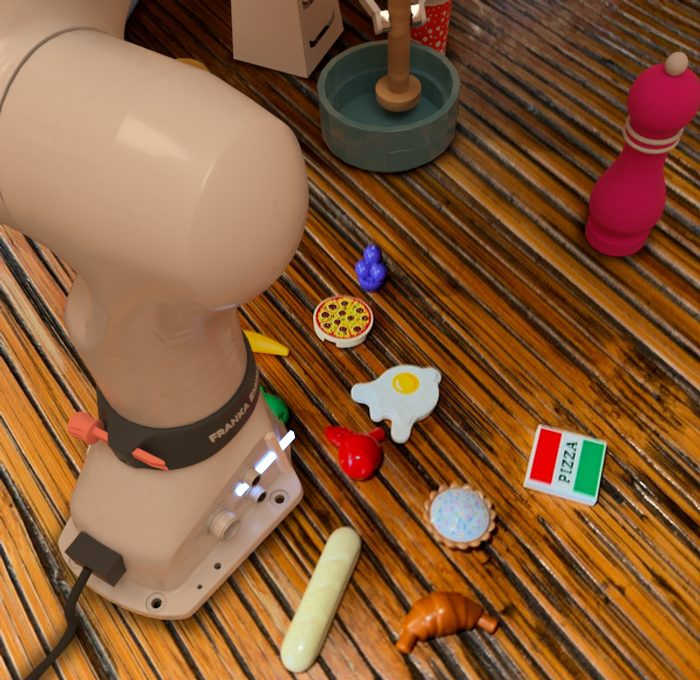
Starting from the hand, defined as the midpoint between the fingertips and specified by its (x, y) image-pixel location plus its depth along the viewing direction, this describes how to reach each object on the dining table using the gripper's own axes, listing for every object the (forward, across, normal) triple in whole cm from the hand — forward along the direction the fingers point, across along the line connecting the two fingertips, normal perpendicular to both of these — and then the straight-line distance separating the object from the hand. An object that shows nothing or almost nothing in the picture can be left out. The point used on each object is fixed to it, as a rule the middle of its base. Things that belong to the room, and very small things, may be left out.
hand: (401, 28), depth 80 cm
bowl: (+9, -2, +7) cm, 11 cm away
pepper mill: (+25, +17, -9) cm, 31 cm away
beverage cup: (+1, +6, +15) cm, 17 cm away
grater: (-5, -10, +21) cm, 24 cm away
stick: (+6, 0, +6) cm, 8 cm away
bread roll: (0, -25, +16) cm, 30 cm away
